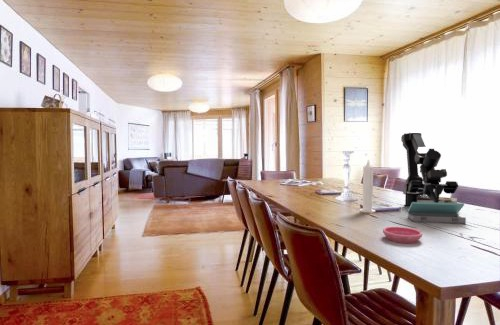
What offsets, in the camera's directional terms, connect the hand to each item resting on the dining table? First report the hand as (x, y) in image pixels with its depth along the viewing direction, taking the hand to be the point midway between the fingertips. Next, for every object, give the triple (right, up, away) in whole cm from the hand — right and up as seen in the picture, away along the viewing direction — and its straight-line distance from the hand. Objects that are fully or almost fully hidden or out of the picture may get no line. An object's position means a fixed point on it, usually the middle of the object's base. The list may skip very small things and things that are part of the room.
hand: (437, 202), depth 141 cm
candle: (-22, -7, +21) cm, 31 cm away
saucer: (-26, -10, -25) cm, 38 cm away
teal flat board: (0, -8, +2) cm, 8 cm away
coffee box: (+19, -4, +17) cm, 26 cm away
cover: (0, -3, +2) cm, 3 cm away
